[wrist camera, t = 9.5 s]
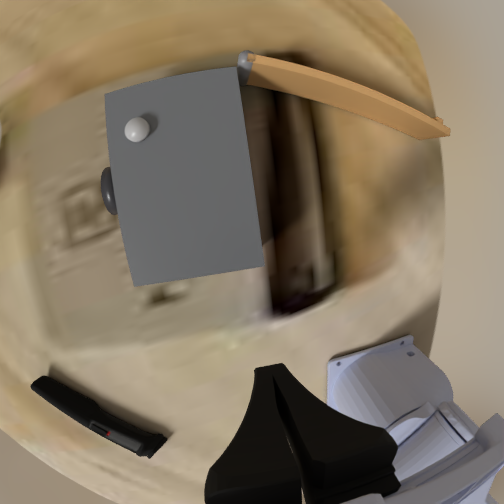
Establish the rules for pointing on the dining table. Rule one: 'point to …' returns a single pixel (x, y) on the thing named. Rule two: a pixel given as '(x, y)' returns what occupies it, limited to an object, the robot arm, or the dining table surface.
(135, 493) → the dining table surface
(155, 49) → the dining table surface
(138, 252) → the camera body
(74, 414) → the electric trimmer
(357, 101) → the side door
